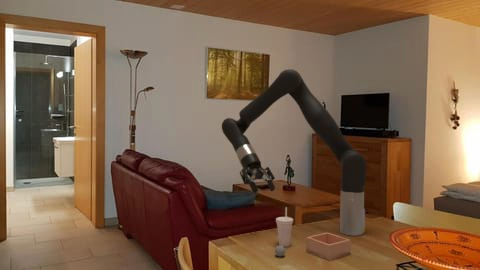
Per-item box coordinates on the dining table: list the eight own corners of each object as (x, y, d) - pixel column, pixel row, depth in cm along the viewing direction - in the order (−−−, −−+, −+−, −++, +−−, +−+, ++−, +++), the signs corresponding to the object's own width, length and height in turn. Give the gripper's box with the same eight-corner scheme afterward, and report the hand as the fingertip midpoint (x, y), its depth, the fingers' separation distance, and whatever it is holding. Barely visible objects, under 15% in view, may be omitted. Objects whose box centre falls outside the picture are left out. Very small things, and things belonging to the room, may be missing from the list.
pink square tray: (327, 245, 145) (327, 232, 145) (350, 254, 137) (350, 239, 136) (306, 251, 139) (306, 237, 139) (329, 260, 130) (329, 245, 130)
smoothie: (292, 248, 142) (292, 209, 142) (274, 247, 143) (274, 208, 143) (293, 242, 148) (294, 205, 148) (276, 241, 150) (276, 204, 149)
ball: (280, 253, 137) (280, 243, 137) (287, 256, 134) (287, 246, 134) (272, 255, 135) (272, 245, 135) (279, 258, 132) (279, 248, 132)
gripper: (238, 152, 155) (255, 186, 147) (265, 151, 164) (283, 184, 156) (230, 164, 160) (246, 198, 152) (257, 162, 169) (273, 194, 160)
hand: (265, 191), depth 154 cm, fingers open, 8 cm apart
